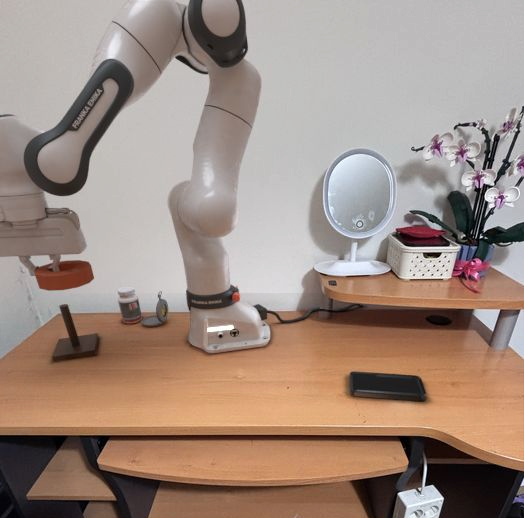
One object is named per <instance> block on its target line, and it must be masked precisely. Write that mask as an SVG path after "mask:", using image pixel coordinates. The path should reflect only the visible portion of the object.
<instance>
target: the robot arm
mask: <svg viewBox="0 0 524 518" xmlns="http://www.w3.org/2000/svg"><path fill="white" fill-rule="evenodd" d="M245 11H246V10H245V6H244V3H243V0H189V1H188V3H187V5H186V4H185V3H184V4H183V3H180V2H178V1H177V0H127V1H126V3H124V4H123V6H122V7H121V8H120V9H119V11H118V12H117V13H116V15H115V16H114V17H113V19H112V20H111V22H110V23H109V24H108V26H107V28H106V29H105V31H104V33H103V35H102V37H101V39H100V41H99V43H98V45H97V47H96V50H95V53H94V55H93V59H92V62H91V68H90V72H89V75H88V77H87V80H86V83H85V84H84V87H83V88H82V90H81V91H80V93H79V94H78V95H77V97H76V98H75V100H74V101H73V103H72V104H71V106H70V107H69V108H68V110H67V111H66V112H65V114H64V115H63V116H62V118H61V119H60V121H59V122H58V123H57V125H55V126H54V127H53V128H51V129H49V130H45V129H42V128H40V127H37V126H36V125H33V124H31V123H29V122H26V121H25V120H23V119H22V118H20V117H18V116H17V115H15V114H11V113H7V114H6V113H4V114H0V258H7V257H8V258H9V257H11V258H12V257H18V260H19V262H20V263H21V264H22V265H23V266H24V267H25V268H26V269H27V270H28V273H29V275H30V277H35V274H34V270H36V269H37V268H39V267H40V266H39V265H35V264H34V263H33V262H32V260H30V259H31V258H32V257H37V256H48V257H49V260H50V261H52V262H51V263H52V266H50V267H48V270H49V271H52V272H60V270H59V267H58V265H59V262H61V258H62V255H63V256H65V255H80V254H82V253H84V252H85V251H86V250H87V248H88V245H87V240H86V237H85V235H84V233H83V231H82V228H81V222H80V217H79V215H78V213H77V212H76V211H74V210H72V209H70V208H69V207H60V208H59V207H49V204H48V200H47V197H46V193H47V194H50V195H52V196H56V197H69V196H72V195H75V194H77V193H79V192H80V191H81V190H82V189H83V188H84V187H85V185H86V183H87V181H88V177H89V171H90V161H91V158H92V155H93V153H94V151H95V149H96V147H97V146H98V144H99V143H100V141H101V140H102V138H103V136H104V135H105V134H106V133H107V131H108V129H109V128H110V126H111V125H112V123H113V122H114V120H115V119H116V118H117V117H118V116H119V115H120V114H121V113H122V112H123V111H124V110H125V109H127V108H129V106H131V105H133V104H135V103H136V102H139V100H141V99H142V98H143V97H144V96H145V95H146V94H147V93H148V92H149V91H150V90H151V89H152V88H153V86H154V85H155V84H156V83H157V81H158V80H159V79H160V78H161V76H162V74H163V73H164V71H165V70H166V68H167V67H168V66H169V65H170V63H171V62H172V61H173V60H174V59H176V60H177V61H178V62H180V63H182V64H184V65H185V66H187V67H188V68H190V69H191V70H192V71H194V72H195V73H198V74H200V75H207V76H208V80H209V81H208V83H209V85H208V92H207V94H206V95H207V96H206V98H205V102H204V104H203V108H202V111H201V115H200V119H199V123H198V124H197V129H196V131H195V132H196V133H195V136H194V138H193V143H192V153H193V160H192V168H191V169H192V171H191V177H190V179H186V180H183V181H181V182H178V183H177V184H175V185H174V186H172V187H171V189H170V190H169V192H168V195H167V201H166V203H167V208H168V210H169V214H170V216H171V220H172V224H173V228H174V229H173V230H174V232H175V236H176V239H177V243H178V246H179V250H180V253H181V258H182V262H183V268H184V275H185V282H186V290H185V299H186V305H187V308H188V311H189V330H188V335H187V341H188V342H189V344H191V345H192V346H193V347H195V348H199V349H202V350H203V351H204V352H206V353H207V354H217V353H218V354H219V353H224V352H225V353H226V352H232V351H233V352H234V351H240V350H246V349H247V350H248V349H254V348H261V347H265V346H267V344H269V342H270V340H271V337H272V336H271V328H270V326H269V324H268V323H267V322H265V320H268V314H270V315H273V316H275V317H276V319H277V321H278V322H280V323H283V324H292V323H296V322H299V321H301V320H304V319H306V318H307V317H309V316H310V314H311V313H312V312H314V311H321V310H320V307H321V306H315V307H312V308H310V309H309V310H308V311H307V312H306V313H305V314H303V315H302V316H299V317H296V318H293V319H287V320H286V319H282V318H281V316H280V315H279V313H277V312H276V311H273V310H270V309H268V308H267V307H265V306H263V305H262V304H260V303H258V304H254V305H251V304H250V303H248V302H247V301H245V300H243V299H241V294H240V289H239V287H238V285H237V284H236V285H233V284H232V283H231V274H230V273H231V272H230V261H229V254H228V252H227V250H226V248H225V246H224V243H223V239H222V238H225V237H226V236H229V234H231V233H232V232H233V231H234V230H235V229H236V227H237V225H238V221H239V216H240V209H239V206H238V202H237V198H238V188H239V187H238V186H239V179H240V172H241V166H242V162H243V159H244V156H245V153H246V150H247V146H248V143H249V139H250V137H251V134H252V131H253V128H254V125H255V122H256V118H257V113H258V110H259V104H260V99H261V93H262V84H263V83H262V77H261V74H260V72H259V70H258V69H257V68H256V67H255V65H254V64H252V63H251V62H250V61H249V60H247V59H246V58H245V57H246V56H247V53H248V52H249V44H248V43H249V41H248V36H247V18H246V12H245ZM360 304H361V305H360ZM360 304H354V303H351V304H349V305H347V306H345V307H340V308H334V307H331V308H332V309H331V311H330V312H344V311H347V310H349V309H351V308H353V307H359V308H365V306H364V305H363V304H362V303H360Z"/></svg>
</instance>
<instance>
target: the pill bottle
mask: <svg viewBox="0 0 524 518" xmlns="http://www.w3.org/2000/svg"><path fill="white" fill-rule="evenodd" d="M135 293H136V290H135V287H134V286H122V287H120V288H118V289H117V294H118V298H117V302H118V306H119V311H120V314H121V315H120V316H121V319H122V321H123V323H125V324H129V325H130V324H137V323H139V322H141V321H142V320H143V315H142V310H141V305H140V300H139V297H138V295H137V294H135Z"/></svg>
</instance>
